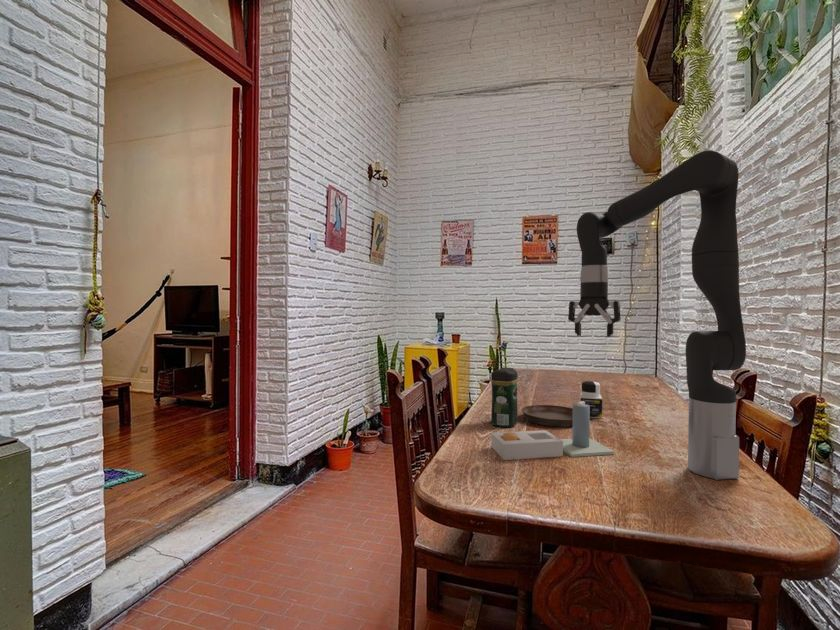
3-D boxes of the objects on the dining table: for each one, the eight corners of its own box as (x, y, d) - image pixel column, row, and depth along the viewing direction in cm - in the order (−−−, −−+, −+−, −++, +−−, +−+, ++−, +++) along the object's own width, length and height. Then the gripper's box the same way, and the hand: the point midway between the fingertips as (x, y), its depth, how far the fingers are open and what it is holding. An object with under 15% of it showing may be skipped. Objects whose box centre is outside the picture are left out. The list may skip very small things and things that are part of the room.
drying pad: (614, 454, 115) (614, 451, 115) (571, 457, 113) (571, 454, 113) (589, 440, 127) (589, 437, 127) (550, 442, 125) (550, 439, 125)
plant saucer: (561, 411, 162) (561, 402, 162) (597, 426, 143) (598, 416, 142) (511, 415, 157) (511, 406, 157) (541, 431, 137) (541, 420, 137)
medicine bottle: (580, 417, 153) (580, 383, 153) (579, 412, 160) (579, 379, 160) (602, 418, 151) (602, 384, 151) (600, 413, 158) (600, 380, 158)
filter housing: (545, 444, 124) (545, 430, 124) (562, 456, 114) (562, 441, 114) (491, 447, 121) (491, 433, 121) (504, 460, 111) (504, 444, 111)
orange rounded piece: (513, 443, 119) (513, 432, 119) (519, 447, 115) (519, 436, 115) (501, 444, 118) (501, 432, 118) (506, 448, 115) (506, 436, 115)
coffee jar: (497, 419, 151) (497, 365, 151) (520, 422, 147) (520, 367, 147) (487, 426, 142) (487, 369, 142) (511, 429, 139) (511, 370, 138)
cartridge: (591, 444, 121) (591, 402, 121) (586, 448, 117) (587, 404, 117) (574, 441, 123) (575, 399, 123) (570, 445, 120) (570, 402, 120)
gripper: (622, 281, 128) (622, 336, 129) (573, 282, 137) (572, 334, 137) (617, 280, 122) (616, 337, 123) (565, 281, 131) (565, 335, 131)
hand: (593, 336), depth 130 cm, fingers open, 8 cm apart
